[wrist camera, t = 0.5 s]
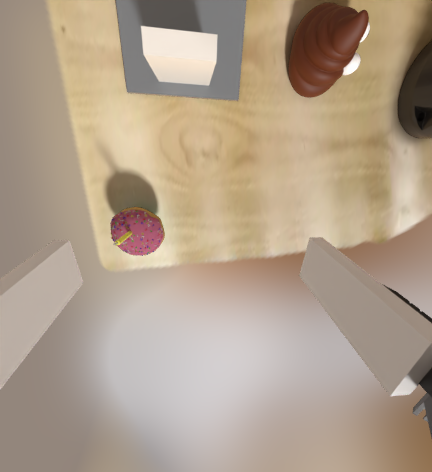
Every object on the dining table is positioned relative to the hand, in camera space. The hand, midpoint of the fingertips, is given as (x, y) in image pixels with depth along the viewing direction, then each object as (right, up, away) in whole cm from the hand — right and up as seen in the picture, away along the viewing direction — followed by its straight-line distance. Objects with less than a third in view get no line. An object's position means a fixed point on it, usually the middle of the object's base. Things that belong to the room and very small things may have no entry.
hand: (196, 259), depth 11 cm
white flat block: (-3, +24, +16) cm, 29 cm away
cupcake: (-12, +4, +26) cm, 29 cm away
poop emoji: (+16, +28, +18) cm, 36 cm away
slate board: (-3, +29, +15) cm, 32 cm away
